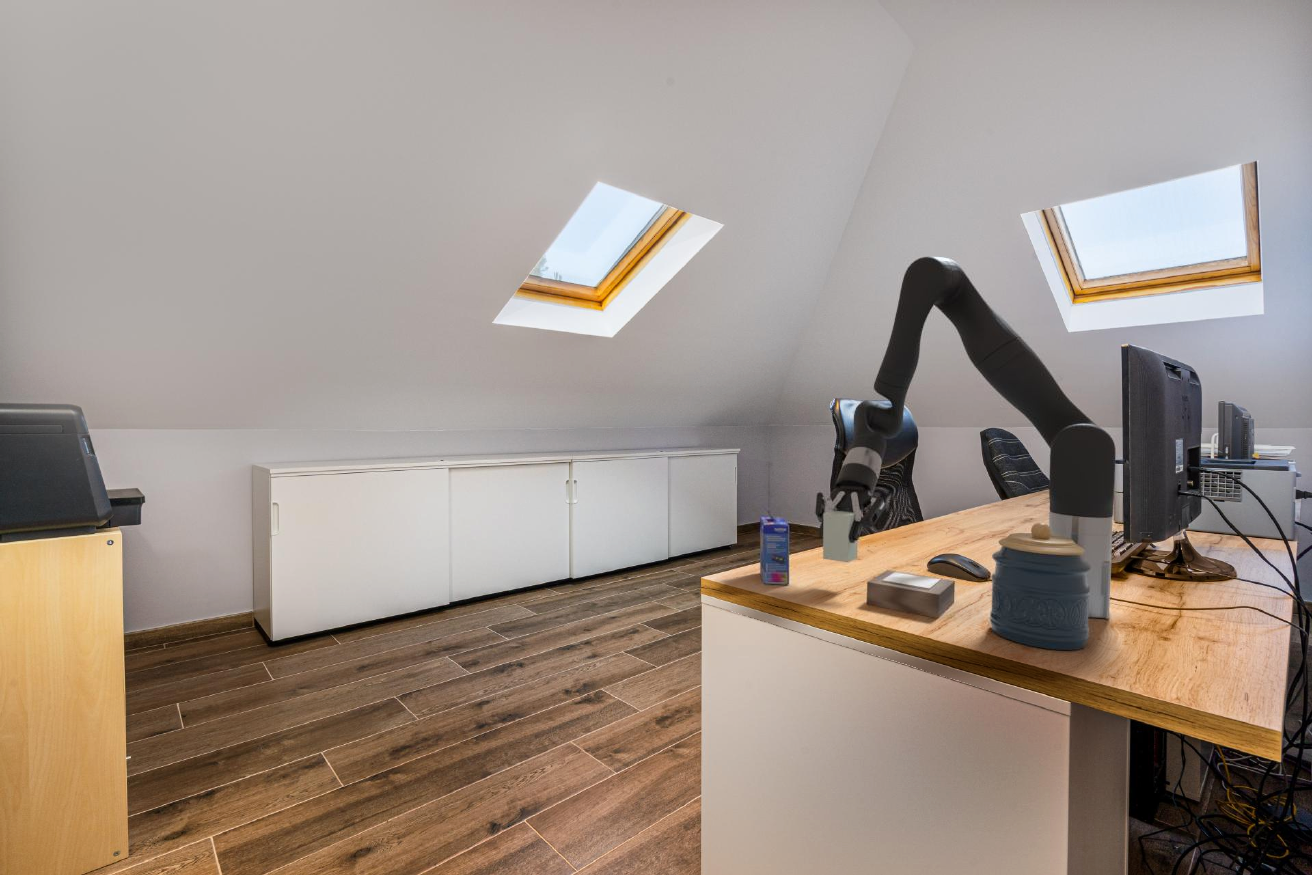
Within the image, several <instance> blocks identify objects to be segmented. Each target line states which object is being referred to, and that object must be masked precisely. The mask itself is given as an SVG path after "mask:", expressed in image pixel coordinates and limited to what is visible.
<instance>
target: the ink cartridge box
mask: <svg viewBox="0 0 1312 875" xmlns="http://www.w3.org/2000/svg"><path fill="white" fill-rule="evenodd" d="M765 509H766V511H767V513H768V515H769V516H760V518H759V521H760V528H759V529H760V531H759V536H760V537H759V538H760V539H759V540H760V541H759V550H760V551H759V560H760V561H759V569H760V570H759V571H760V577H761V581H762V584H764V585H767V584H768V585H769V584H770V585H783V586H788V585H790V524H789V522H787V521H786V519H785V518H784V517H777V516H775V517H774V516H773V515H772V514H771V512H770V510H769V509H768V507H767V508H765Z"/></svg>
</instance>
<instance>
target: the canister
mask: <svg viewBox="0 0 1312 875" xmlns="http://www.w3.org/2000/svg"><path fill="white" fill-rule="evenodd" d="M1030 532H1031V533H1030ZM1030 532H1029V533H1028V532H1013V533H1010V534H1008V535H1007V536H1006V537H1003V538H1000V539H999V540H998V544H999V545H1000V546H1001V547H1000V549H999V550H998V551H995V552H993V553H992V555H991V557H992V559H993V560H994V562H995V568H994V572H993V573H992V574H991V576H990V577H991V578H990V579H991V580H992V581H991V582H992V583H991V584H992V586H991V587H992V590H991V610H990V612H989V616H990V617H989V621H990V623H991V624H990V626H991V630H992V631H993V632H994V633H996V634H997V635H998V636H1001V637H1002V638H1005V639H1007V640H1010V641H1013V642H1014V643H1015V642H1016V643H1019V644H1023V645H1026V646H1030V647H1035V648H1042V649H1047V650H1057V651H1074V650H1080V649H1084V648H1085V647H1087V644H1088V640H1089V639H1090V638H1089V637H1090V628H1089V617H1088V613H1089V593H1090V592H1091V588H1090V587H1089V586H1088V585H1087V573H1088V572H1089V571H1090V570H1091V569H1092V567H1091V565H1090V564H1089V563H1087V562H1086V561H1084V560H1083V558H1082V556H1081V554H1084V553H1085V549H1084V548H1082V547H1080V546H1079V545H1077V544H1076V543H1075V542H1074V541H1073V540H1071V539H1068V538H1064V537H1059V536H1052V535H1051V529H1050V527H1049V524H1047V523H1044V522H1036V523H1034V524H1033V525H1032V527H1031V529H1030Z"/></svg>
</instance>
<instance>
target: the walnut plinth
mask: <svg viewBox="0 0 1312 875" xmlns="http://www.w3.org/2000/svg"><path fill="white" fill-rule="evenodd" d="M866 585H867V586H866V605H869V606H875V607H880V608H884V609H885V608H886V609H890V610H895V611H900V612H906V613H910V614H915V615H920V616H924V617H925V616H926V617H930V618H935V619H940V618H941V616H943V614H944V613H945V612H946V611H948V609H950V607H952V605H953V604H954V603H955V592H956V591H955V587H956V580H951V579H944V578H939V577H932V576H927V575H926V576H925V575H921V574H920V575H919V574H914V573H907V572H902V571H895V570H890V569H888V570H886V571H884V572H882V573H880V574H879V575H876V576H875V577H873V578H872V579H869V580H868V581H867V582H866Z"/></svg>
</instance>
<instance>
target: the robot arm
mask: <svg viewBox="0 0 1312 875" xmlns="http://www.w3.org/2000/svg"><path fill="white" fill-rule="evenodd" d="M900 286H901V288H900V292H899V299H898V302H897V308H896V312H895V316H894V321H893V326H892V329H891V334H890V338H889V341H888V343H887V347H886V350H885V353H884V355H883V360H882V361H881V364H880V366H879V370H878V372H877V374H876V377H875V380H874V384H873V390H874V391H875V392H876V393H877V394H878V395H880V396H882V397H884V398H885V399H887V400H888V401H889V402H890V403H891V406H889V405H886V404H882V403H880V402H876V401H873V400H864V401H862V402H860V403H858V405H857V406H856V407H855V410H854V413H853V439H852V441H851V445H850V447H849V450H848V453H847V455H846V457H845V459H844V460H843V463H842V467H841V469H840V471H839V475H838V477H837V479H836V482H835V486H834V489H833V490H832V491H831V492H830V494H829V493H828V494H823V493H822V492H817V493H816V501H815V510H814V511H815V512H814V514H815V516H816V517H817V518H816V519H817V520H818V521H819V522H820V525H819V529H818V532H819V534H820V535H819V536H821V538H822V540H823V521H824V513H826V512H830V511H844V512H854V513H856V514H855V522H853V524H852V527H851V530H850V533H849V536H848V537H849V540H850V543H855V541H857V540H859V539H860V535H861V533H862V530H863V529H864V528H865V527H867V528H874V526H875V525H876V523H877V521H878V520H879V518H880V517H881V515H882V513H883V512H884V510H885V508H886V504H885V501H884V499H883V497H882V496H878V497H873V495H874V492H875V489H876V487H877V486H876V485H877V483H878V480H879V477H880V474H881V469H882V463H883V460H884V458H885V457H884V456H885V453H886V450H887V441H886V439H887V440H890V439H891V440H892V439H893V438H895V437H897V436H898V435H899V434H900V433H901V432H902V429H903V425H904V409H905V402H906V397H907V394H908V390H909V389H910V385H911V383H912V381H913V377H914V375H915V373H916V370H917V367H918V362H919V358H920V352H921V351H920V349H921V338H922V334H923V330H924V326H925V323H926V320H927V318H928V317H929V314H930V313H931V310H932V308H933V307H934V306H935V307H936V308H937V309H938V310H939V311H940V312H941V313H942V314H943V315H944V316H945V317H946V318H947V319H948V320H949V321H950V322H951V323H952V325H953V326H954V327H955V329H956V331H957V333H958V335H959V337H960V340H961V343H962V345H963V347H964V350H965V352H966V354H967V357H968V358H969V360H970V363H972V364H973V366H974V367H975V368H976V370H978V372H979V373H980V375H982V377H983V378H984V379H985V380H986V382H987V383H989V385H990V386H991V387H992V388H993V389H994V390H995V391H996V392H997V393H998V394H999V395H1000V396H1001V397H1002V398H1003V399H1005V401H1007V402H1008V403H1009V404H1011V406H1013V407H1014V408H1015V409H1016V410H1018V411H1019V412H1020V413H1021V414H1023V415H1024V417H1025V418H1027V419H1028V421H1029V422H1030V423H1031V424H1032V425H1033V426H1034V427H1035V429H1036V430H1037V432H1038V433H1039V434H1040V436H1041V437H1042V438H1043V440H1044V442H1045V443H1046V444H1047V446H1048V447H1049V449H1050V451H1049V452H1050V454H1049V481H1048V482H1049V483H1048V485H1049V486H1048V487H1049V489H1048V495H1049V496H1048V497H1049V511H1048V514H1049V515H1048V519H1049V520H1048V526H1049V527H1050V529H1051V535H1052V536H1059V537H1064V538H1068V539H1071V540H1073V541H1074V542H1075V543H1076V544H1077V545H1079V546H1080V547H1082V548H1084V549H1085V553H1084V554H1081V556H1082V558H1083V560H1084V561H1086V562H1087V563H1089V564H1090V565H1091V567H1092V569H1091V570H1090V571H1089V572H1088V573H1087V585H1088V586H1089V587H1090V588H1091V592H1090V593H1089V613H1088V618H1101V619H1110V606H1111V605H1110V602H1111V579H1112V578H1111V576H1112V574H1111V573H1112V544H1113V543H1112V542H1113V540H1112V539H1113V520H1114V519H1113V515H1114V506H1115V505H1114V501H1115V478H1116V477H1115V476H1116V456H1117V455H1116V453H1117V452H1116V444H1115V442H1114V440H1113V438H1112V436H1111V435H1110V434H1109V433H1108V432H1107V431H1106V430H1105V429H1103V428H1101V427H1100V426H1099V425H1097V424H1096V422H1094V421H1093V420H1092V419H1091V418H1089V417H1088V416H1087V414H1085V413H1084V412H1083V411H1082V410H1081V409H1080V408H1078V407H1077V406H1076V405H1075V404H1074V402H1073V401H1071V400H1070V399H1069V398H1068V397H1067V395H1066V394H1065V392H1064V391H1063V390H1062V389H1061V386H1060V385H1059V384H1058V383H1057V381H1056V380H1055V378H1054V377H1053V375H1052V373H1051V372H1050V370H1049V369H1048V368H1047V366H1046V365H1045V364H1044V362H1043V361H1042V360H1041V358H1040V357H1039V356H1038V355H1037V354H1036V352H1035V351H1034V350H1033V349H1032V348H1031V347H1030V346H1029V344H1028V343H1027V342H1026V341H1025V340H1024V339H1023V337H1021V336H1020V334H1018V332H1016V331H1015V330H1014V328H1013V327H1012V326H1010V324H1009V323H1008V322H1007V321H1006V320H1005V319H1004V318H1003V317H1002V316H1001V314H999V313H998V312H997V311H996V310H995V309H994V308H993V307H992V306H991V305H990V304H988V302H987V301H986V300H985V299H984V298H983V296H982V295H981V293H980V292H979V291H978V290H977V288H976V286H975V285H974V284H973V282H972V281H971V279H970V277H969V276H968V275H967V274H966V272H965V271H964V270H963V268H962V267H961V266H960V264H958V262H957V261H955V260H952V259H951V258H948V257H944V256H943V257H942V256H923V257H920V258H917V259H915V260H914V261H913V262H911V264H909V266H908V267H907V268H906V270H905V272H904V275H903V279H902V282H901V285H900ZM830 501H831V503H830V504H829V502H830ZM828 504H829V505H828ZM870 505H871V506H870ZM827 506H828V508H827V510H826V507H827ZM869 506H870V508H869V509H868V511H867V513H866V514H865V515H863V513H864V512H863V511H864V510H865V509H866V508H868V507H869Z"/></svg>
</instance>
